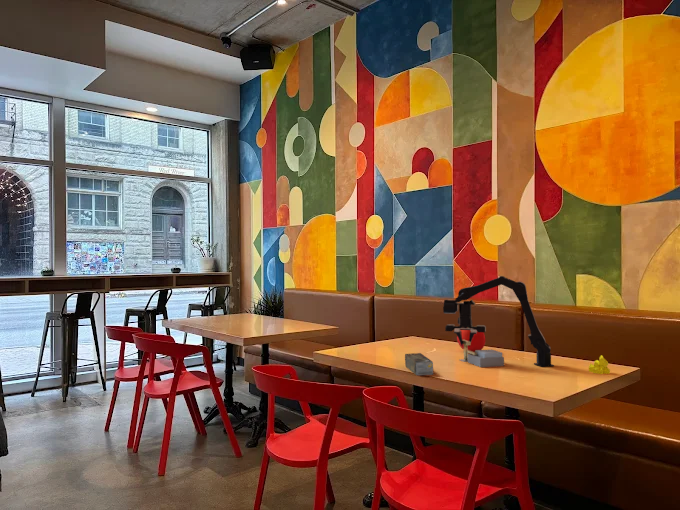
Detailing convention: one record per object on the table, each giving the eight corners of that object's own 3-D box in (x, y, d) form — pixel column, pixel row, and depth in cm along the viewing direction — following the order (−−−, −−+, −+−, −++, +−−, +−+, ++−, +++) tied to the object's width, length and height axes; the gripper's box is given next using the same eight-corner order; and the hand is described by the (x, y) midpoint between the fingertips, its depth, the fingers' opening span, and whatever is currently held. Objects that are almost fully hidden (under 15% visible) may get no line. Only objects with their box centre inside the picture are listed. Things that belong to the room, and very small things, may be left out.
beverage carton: (415, 376, 219) (415, 360, 219) (404, 366, 238) (404, 352, 238) (433, 375, 220) (433, 359, 220) (421, 366, 239) (421, 352, 239)
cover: (502, 357, 238) (502, 352, 238) (484, 357, 236) (484, 353, 236) (492, 353, 247) (492, 349, 247) (475, 354, 245) (475, 350, 245)
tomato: (490, 352, 274) (490, 326, 274) (475, 355, 265) (474, 328, 265) (466, 348, 286) (465, 323, 286) (450, 351, 277) (450, 325, 277)
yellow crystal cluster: (590, 370, 228) (590, 352, 228) (611, 372, 223) (610, 354, 223) (587, 372, 223) (587, 354, 223) (607, 375, 218) (607, 356, 218)
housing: (504, 365, 238) (503, 357, 238) (477, 367, 234) (477, 358, 234) (484, 358, 255) (483, 350, 255) (459, 359, 252) (459, 351, 252)
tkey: (476, 363, 241) (476, 343, 242) (472, 363, 241) (472, 343, 241) (464, 358, 254) (464, 339, 254) (460, 358, 254) (460, 339, 254)
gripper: (486, 312, 255) (487, 344, 255) (448, 311, 262) (448, 342, 261) (484, 314, 245) (485, 348, 244) (444, 314, 251) (445, 346, 251)
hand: (465, 346), depth 251 cm, fingers closed on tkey, 3 cm apart
